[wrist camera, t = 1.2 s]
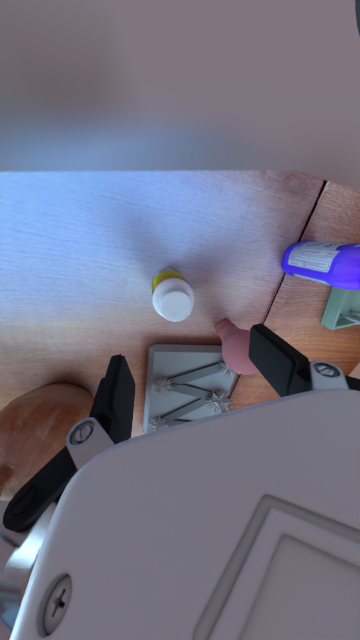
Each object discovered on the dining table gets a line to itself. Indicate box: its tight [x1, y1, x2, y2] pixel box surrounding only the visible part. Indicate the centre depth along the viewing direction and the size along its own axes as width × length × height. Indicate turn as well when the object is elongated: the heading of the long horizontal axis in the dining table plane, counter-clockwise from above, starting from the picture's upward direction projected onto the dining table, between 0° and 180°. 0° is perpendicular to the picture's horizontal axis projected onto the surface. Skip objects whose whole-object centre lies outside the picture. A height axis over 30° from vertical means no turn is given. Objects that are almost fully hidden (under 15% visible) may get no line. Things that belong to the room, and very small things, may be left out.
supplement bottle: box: [152, 268, 194, 322], centre depth 23 cm, size 6×6×10 cm
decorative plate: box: [143, 344, 240, 434], centre depth 38 cm, size 30×22×7 cm
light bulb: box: [216, 320, 259, 374], centre depth 29 cm, size 7×7×12 cm
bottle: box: [282, 241, 360, 290], centre depth 22 cm, size 7×6×17 cm
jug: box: [0, 383, 94, 501], centre depth 27 cm, size 18×18×20 cm
